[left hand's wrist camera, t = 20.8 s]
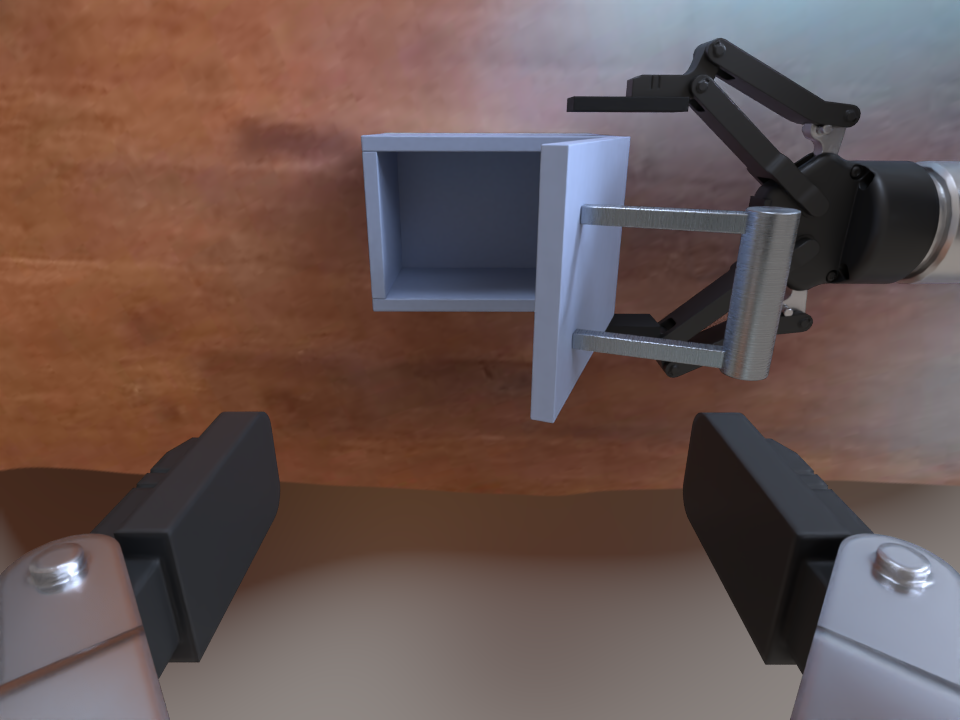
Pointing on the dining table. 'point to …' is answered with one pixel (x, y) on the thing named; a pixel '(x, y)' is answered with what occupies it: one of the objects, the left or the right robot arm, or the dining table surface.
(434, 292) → the chest
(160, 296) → the dining table surface
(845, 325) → the dining table surface
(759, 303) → the grey box lid
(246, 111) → the dining table surface
